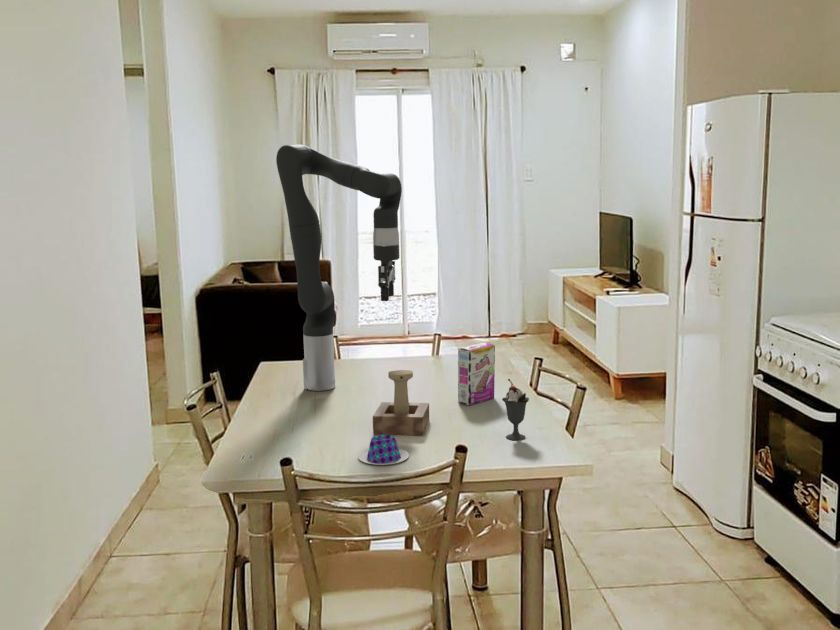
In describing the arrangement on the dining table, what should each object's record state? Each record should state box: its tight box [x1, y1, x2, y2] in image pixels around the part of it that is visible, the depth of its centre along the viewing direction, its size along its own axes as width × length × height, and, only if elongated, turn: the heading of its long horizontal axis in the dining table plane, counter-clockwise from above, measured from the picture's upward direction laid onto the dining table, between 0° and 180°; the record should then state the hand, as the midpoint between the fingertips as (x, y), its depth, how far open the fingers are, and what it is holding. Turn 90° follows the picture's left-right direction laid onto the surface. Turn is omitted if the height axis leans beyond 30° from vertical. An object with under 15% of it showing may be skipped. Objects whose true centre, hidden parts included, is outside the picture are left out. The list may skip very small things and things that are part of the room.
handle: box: [387, 369, 414, 414], centre depth 222 cm, size 5×6×15 cm
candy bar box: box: [457, 342, 496, 406], centre depth 245 cm, size 11×5×16 cm, turn 135°
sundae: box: [501, 378, 530, 442], centre depth 212 cm, size 7×7×15 cm
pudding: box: [357, 434, 410, 466], centre depth 200 cm, size 12×12×5 cm
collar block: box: [372, 401, 430, 437], centre depth 222 cm, size 13×13×5 cm
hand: (387, 298), depth 247 cm, fingers open, 8 cm apart
